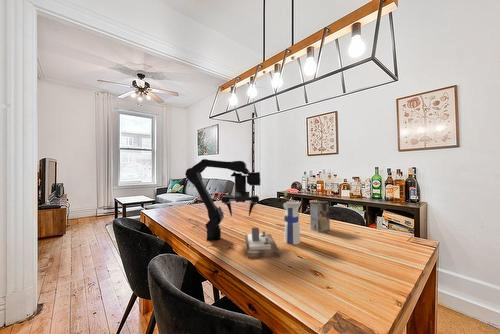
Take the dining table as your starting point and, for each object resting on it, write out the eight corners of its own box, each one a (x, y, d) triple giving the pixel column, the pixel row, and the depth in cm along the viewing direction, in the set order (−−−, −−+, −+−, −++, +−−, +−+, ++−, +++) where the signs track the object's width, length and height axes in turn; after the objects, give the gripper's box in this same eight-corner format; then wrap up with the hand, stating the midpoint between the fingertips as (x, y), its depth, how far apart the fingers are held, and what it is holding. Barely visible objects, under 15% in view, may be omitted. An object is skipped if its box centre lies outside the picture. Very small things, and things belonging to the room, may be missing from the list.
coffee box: (321, 227, 128) (321, 200, 128) (330, 230, 123) (329, 202, 123) (310, 229, 124) (309, 201, 124) (318, 232, 118) (318, 203, 118)
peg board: (248, 257, 88) (247, 244, 87) (245, 239, 109) (245, 228, 109) (279, 256, 88) (279, 243, 88) (270, 238, 110) (270, 227, 110)
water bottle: (280, 243, 103) (280, 191, 103) (286, 237, 111) (286, 189, 110) (297, 246, 99) (297, 192, 99) (302, 240, 107) (302, 190, 107)
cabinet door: (249, 250, 91) (249, 234, 90) (247, 237, 106) (247, 224, 106) (270, 249, 91) (270, 234, 91) (265, 236, 107) (265, 223, 107)
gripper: (220, 187, 101) (220, 220, 101) (260, 187, 102) (260, 219, 102) (222, 184, 112) (222, 214, 112) (258, 184, 113) (258, 214, 113)
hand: (240, 215), depth 110 cm, fingers open, 9 cm apart
